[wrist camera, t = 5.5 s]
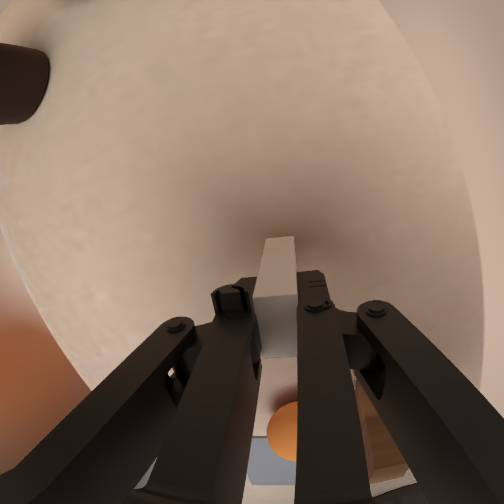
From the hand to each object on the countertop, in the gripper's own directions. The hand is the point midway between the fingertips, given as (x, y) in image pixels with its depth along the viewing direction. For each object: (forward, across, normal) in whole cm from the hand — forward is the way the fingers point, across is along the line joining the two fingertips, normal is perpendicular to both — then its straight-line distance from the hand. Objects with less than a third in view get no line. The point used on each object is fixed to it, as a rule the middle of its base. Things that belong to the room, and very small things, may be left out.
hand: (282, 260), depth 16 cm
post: (+2, -6, +13) cm, 15 cm away
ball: (-1, 0, +15) cm, 15 cm away
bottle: (+2, +19, -17) cm, 26 cm away
